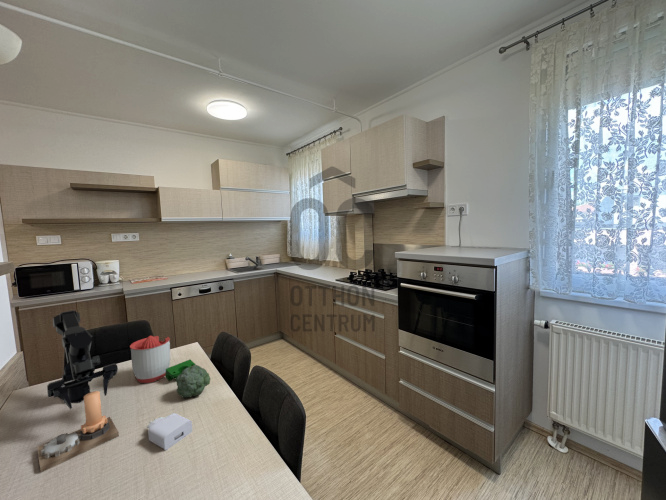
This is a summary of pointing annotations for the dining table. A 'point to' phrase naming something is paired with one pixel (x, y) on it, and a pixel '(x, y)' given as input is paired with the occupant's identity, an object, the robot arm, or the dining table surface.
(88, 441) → the gear board
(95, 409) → the gear spindle
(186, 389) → the vegetable
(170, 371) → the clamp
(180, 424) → the charger
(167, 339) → the citrus juicer
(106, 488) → the dining table surface
